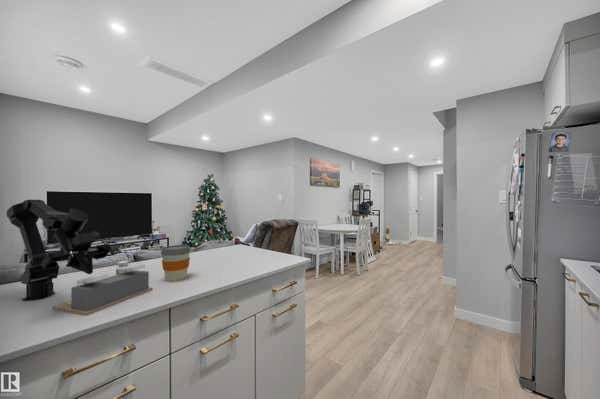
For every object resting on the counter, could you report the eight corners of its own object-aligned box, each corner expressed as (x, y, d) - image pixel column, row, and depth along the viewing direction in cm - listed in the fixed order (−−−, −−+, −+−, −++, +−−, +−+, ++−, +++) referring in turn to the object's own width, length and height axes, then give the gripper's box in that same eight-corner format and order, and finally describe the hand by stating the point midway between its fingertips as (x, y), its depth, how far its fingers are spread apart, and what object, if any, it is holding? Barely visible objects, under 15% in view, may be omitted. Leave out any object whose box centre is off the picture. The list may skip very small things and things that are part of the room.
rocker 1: (77, 285, 82) (76, 280, 82) (93, 281, 87) (92, 276, 87) (92, 283, 79) (92, 277, 80) (108, 278, 84) (108, 273, 84)
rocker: (118, 274, 95) (118, 270, 95) (131, 270, 100) (130, 266, 100) (133, 271, 93) (132, 267, 93) (145, 268, 98) (144, 264, 98)
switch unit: (52, 309, 82) (52, 286, 82) (122, 286, 105) (122, 268, 105) (86, 315, 77) (86, 291, 77) (152, 289, 99) (152, 271, 100)
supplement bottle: (130, 280, 113) (130, 259, 113) (130, 283, 108) (130, 262, 109) (116, 282, 110) (116, 261, 110) (115, 285, 105) (115, 263, 106)
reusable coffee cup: (188, 280, 111) (188, 248, 111) (157, 283, 107) (157, 250, 107) (192, 273, 123) (192, 244, 123) (165, 275, 119) (164, 245, 119)
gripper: (46, 227, 76) (69, 264, 73) (108, 223, 94) (129, 252, 91) (31, 251, 79) (52, 287, 75) (94, 242, 96) (114, 271, 93)
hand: (91, 273), depth 83 cm, fingers closed
